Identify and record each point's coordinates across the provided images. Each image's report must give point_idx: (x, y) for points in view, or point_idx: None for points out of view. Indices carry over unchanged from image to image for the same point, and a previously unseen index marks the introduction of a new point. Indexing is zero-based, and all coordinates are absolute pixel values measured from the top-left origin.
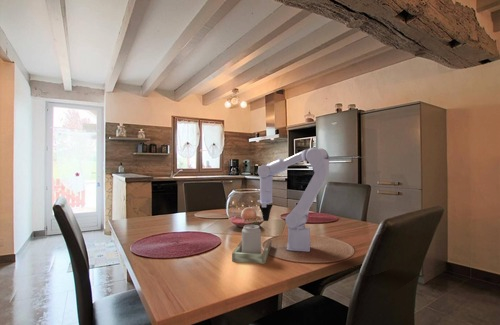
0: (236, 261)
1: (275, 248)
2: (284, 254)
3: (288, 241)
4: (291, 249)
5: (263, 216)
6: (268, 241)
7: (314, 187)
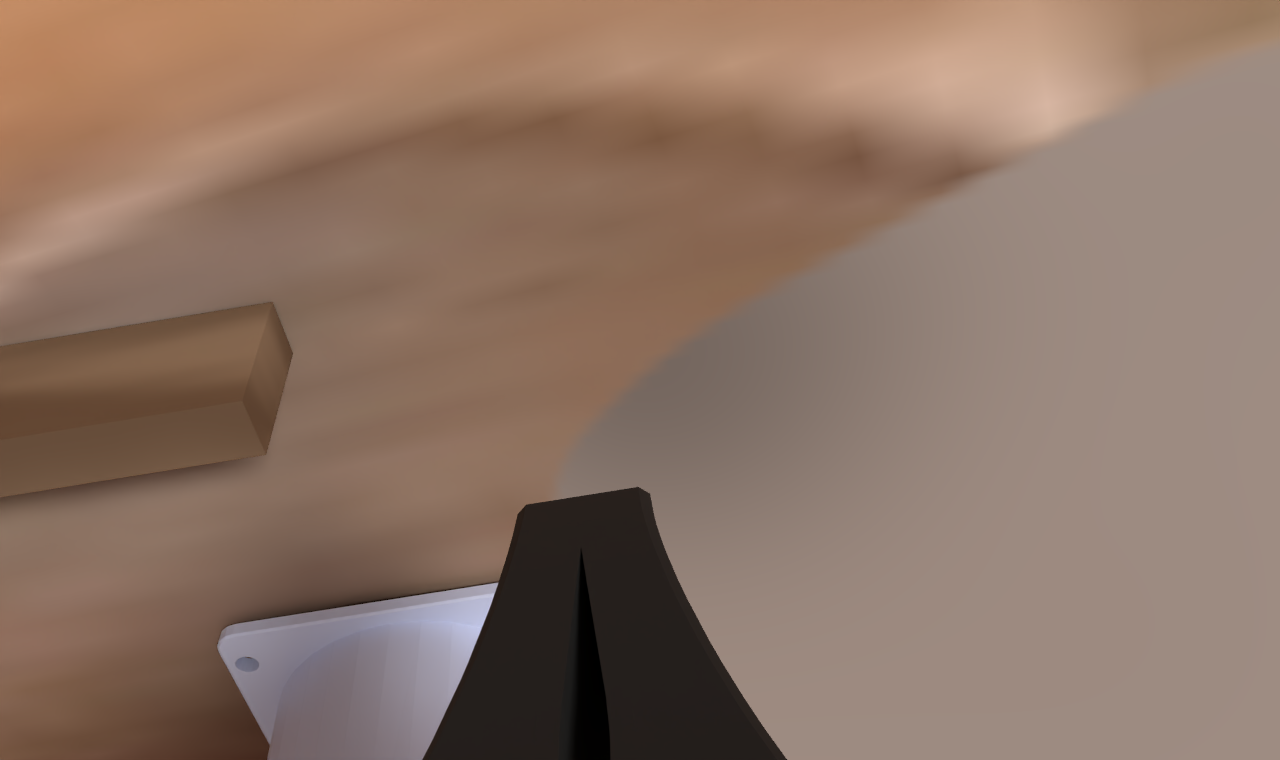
0: None
1: None
2: (5, 632)
3: (321, 731)
4: (245, 694)
5: (487, 661)
6: (87, 438)
7: None
